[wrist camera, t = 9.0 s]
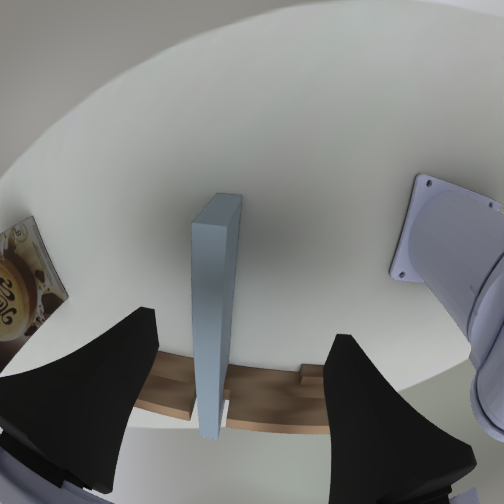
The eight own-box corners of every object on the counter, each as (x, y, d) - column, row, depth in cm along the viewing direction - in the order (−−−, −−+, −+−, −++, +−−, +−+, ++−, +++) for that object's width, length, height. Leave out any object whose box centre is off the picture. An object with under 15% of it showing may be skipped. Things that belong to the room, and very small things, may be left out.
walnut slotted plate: (338, 366, 23) (348, 418, 18) (326, 390, 25) (331, 439, 20) (111, 330, 24) (83, 373, 18) (118, 357, 25) (95, 398, 20)
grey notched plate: (217, 192, 17) (191, 222, 12) (242, 195, 17) (227, 226, 12) (211, 389, 26) (200, 436, 21) (226, 391, 26) (217, 439, 20)
